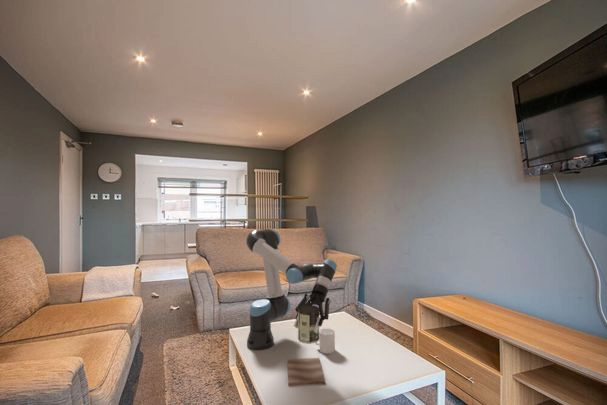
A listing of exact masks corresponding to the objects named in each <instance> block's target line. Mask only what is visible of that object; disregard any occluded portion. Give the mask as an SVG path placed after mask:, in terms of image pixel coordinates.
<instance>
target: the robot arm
mask: <svg viewBox="0 0 607 405" xmlns="http://www.w3.org/2000/svg"><path fill="white" fill-rule="evenodd" d="M245 241H246V242H245V243H246V246H247V247H248V249H249V250H250V251H251V252H252V253H253V254H254V255H258V256H260V257H262V260H263V268H264V276H265V281H266V282H265V283H266V291H267V294H266V296H265V298H264V299H263V298H262V299H258V300H255V301H253V302H252V303H251V304H250V308H249V332H248V337H247V340H246V346H247V347H248V348H249V349H251V350H254V351H255V350H257V351H259V350H262V351H263V350H266V349H269V348H271V347H272V346H274V343H275V340H274V339H275V338H274V335H273V331H272V330H271V329H272V328H271V327H272V326H271V325H272V324H271V322H274V321H276V320H278V319H281V318H284V317H285V316H287V315H288V314H289V312H290V310H291V301H290V299H288V297H287V296H286V293H285V292H283V290H282V289H283V288H282V285H281V284H282V282H281V279H280V278H281V277H280V272H282V273H283V274H284V275H285V277H286V278H285V279H286V280H287V282H288V284H291V285H294V284H299V283H302V282H305V281H308V280H311V279H315V282H314V286H313V288H312V290H311V292H310V294H308V293H305V294H304V296H303V298H302V299H301V301H300V302H299V304H298V305H296V308H294V310H295V312H296V313H297V314H296V316H295V318H294V319H295V322H294V324H293V327H295V329H298V308H299V307H301V306H305V305H312V306H317V307H318V308H319V317H318V320H317V322H316V325H315V328H314V332H315V333H316V334H317V332H318V330H319V331H320V328H321V327H322V325H323V322H324V320H326V321H328V320H329V314H330V304H331V300H330V298H329V297H327V296H328V292H329V289H330V286H331V284H332V282H333V278H334V276H335V274H336V272H337V267H338V264H337V263H336V262H335V261H334V260H332V259H330V258H329V259H325V260H323V263H305V264H303V265H302V266H299V265H297V264H296V263H295V262H293V261H292V260H290V259H289V258H288V257H286V256H284V255H283V254H281V252H279V251H278V250H279V247H278V246H280V243H281V236H280V234H279V232H278V231H276V230H275V229H272V228H271V229H270V228H268V229H267V228H266V229H255V230H252V231H251V232H249V233H248V235H247V236H246V240H245ZM323 303H324V307H323Z"/></svg>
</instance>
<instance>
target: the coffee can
mask: <svg viewBox="0 0 607 405" xmlns="http://www.w3.org/2000/svg"><path fill="white" fill-rule="evenodd" d="M318 317H320V312H319V306H317V305H305V306H301V307H299V308H298V328H297V340H298V342H300V343H303V344H307V345H309V344H311V345H312V344H315V343H316V342H317V343H319V331H320V329H319V330H318V332H317V334H316V333H315V332H314V328H315V325H316V322H317V320H318Z"/></svg>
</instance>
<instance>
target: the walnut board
mask: <svg viewBox="0 0 607 405" xmlns="http://www.w3.org/2000/svg"><path fill="white" fill-rule="evenodd" d="M286 360H287V384H288V385H287V386H306V385H325V384H326V380H325V376H324V372H323V369H322V367H323V366H322V364H321V360H320V357H309V358H307V357H306V358H287V359H286Z"/></svg>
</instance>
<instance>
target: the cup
mask: <svg viewBox="0 0 607 405" xmlns="http://www.w3.org/2000/svg"><path fill="white" fill-rule="evenodd" d="M335 333H336V332H335V330H334V329H333V328H328V327H327V328H326V327H325V328H321V329H319V341H318V342H316V343H314V344H315V345H317V346H319V351H320V352H321V353H322V354H326V355H329V354H333V353H335V351H336V341H335V340H336V338H335V337H336V336H335V335H336V334H335Z"/></svg>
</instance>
